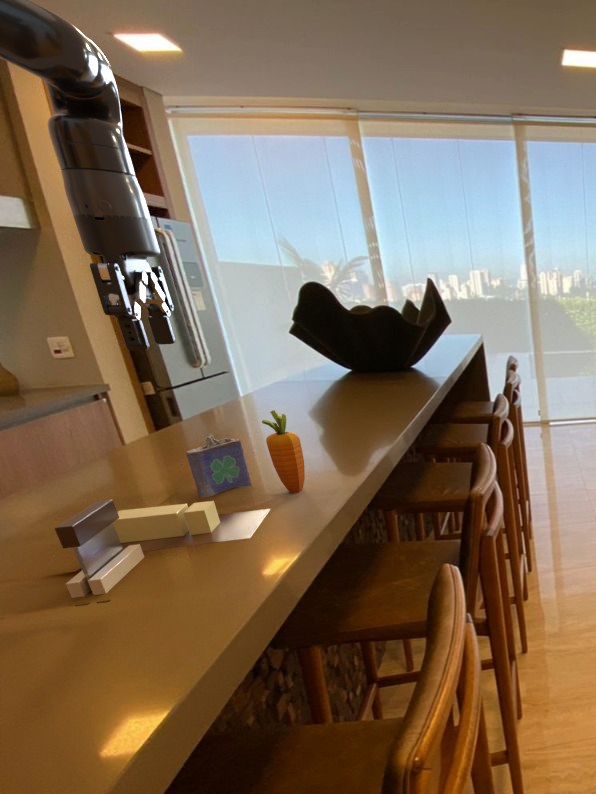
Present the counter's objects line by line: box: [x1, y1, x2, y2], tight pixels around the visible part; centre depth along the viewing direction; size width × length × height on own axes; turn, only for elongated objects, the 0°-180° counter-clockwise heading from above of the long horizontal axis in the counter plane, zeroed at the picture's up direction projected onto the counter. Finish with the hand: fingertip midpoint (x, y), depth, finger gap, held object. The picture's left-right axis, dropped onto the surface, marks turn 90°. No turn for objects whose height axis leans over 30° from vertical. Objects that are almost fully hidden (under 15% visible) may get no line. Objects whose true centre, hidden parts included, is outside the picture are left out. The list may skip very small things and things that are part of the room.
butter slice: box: [184, 500, 220, 535], centre depth 81 cm, size 2×4×4 cm, turn 19°
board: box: [121, 508, 271, 553], centre depth 81 cm, size 18×12×1 cm, turn 109°
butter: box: [113, 503, 189, 543], centre depth 79 cm, size 8×4×4 cm, turn 109°
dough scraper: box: [54, 498, 123, 593], centre depth 67 cm, size 9×2×10 cm, turn 19°
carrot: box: [261, 409, 306, 494], centre depth 95 cm, size 5×5×15 cm
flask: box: [185, 433, 253, 498], centre depth 97 cm, size 9×3×11 cm, turn 164°
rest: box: [65, 544, 145, 607], centre depth 69 cm, size 10×3×3 cm, turn 19°
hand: (153, 347), depth 78 cm, fingers open, 8 cm apart
